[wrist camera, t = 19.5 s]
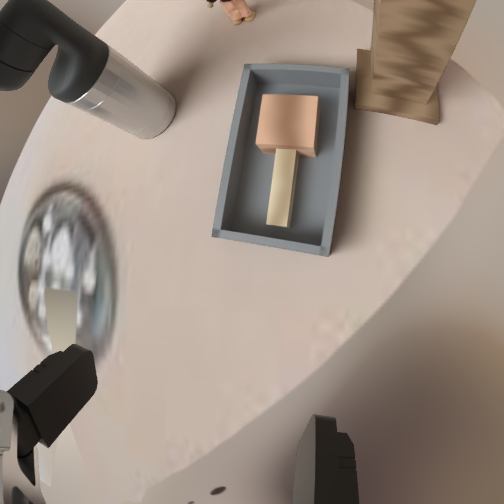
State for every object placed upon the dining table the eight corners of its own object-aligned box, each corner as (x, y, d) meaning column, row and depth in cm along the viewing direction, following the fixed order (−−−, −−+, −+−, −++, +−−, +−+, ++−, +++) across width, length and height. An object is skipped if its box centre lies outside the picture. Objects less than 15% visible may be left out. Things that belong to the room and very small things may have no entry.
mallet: (253, 223, 39) (244, 220, 35) (269, 107, 38) (262, 94, 34) (307, 230, 37) (304, 228, 33) (320, 109, 36) (317, 96, 32)
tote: (226, 237, 41) (211, 236, 36) (254, 81, 40) (244, 64, 35) (329, 255, 37) (328, 256, 32) (349, 87, 36) (349, 68, 31)
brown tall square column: (354, 121, 36) (350, -99, 5) (357, 54, 35) (341, -133, 4) (436, 137, 33) (550, -28, 2) (432, 69, 32) (486, -97, 1)
